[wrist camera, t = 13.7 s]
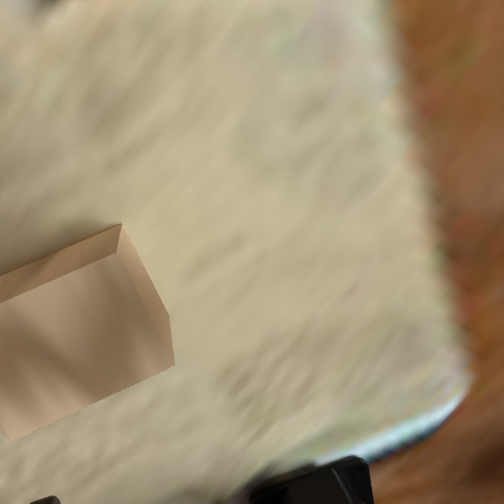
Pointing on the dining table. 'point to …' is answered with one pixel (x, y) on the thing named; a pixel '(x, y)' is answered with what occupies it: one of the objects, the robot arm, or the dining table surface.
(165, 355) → the wood block
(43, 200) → the dining table surface
